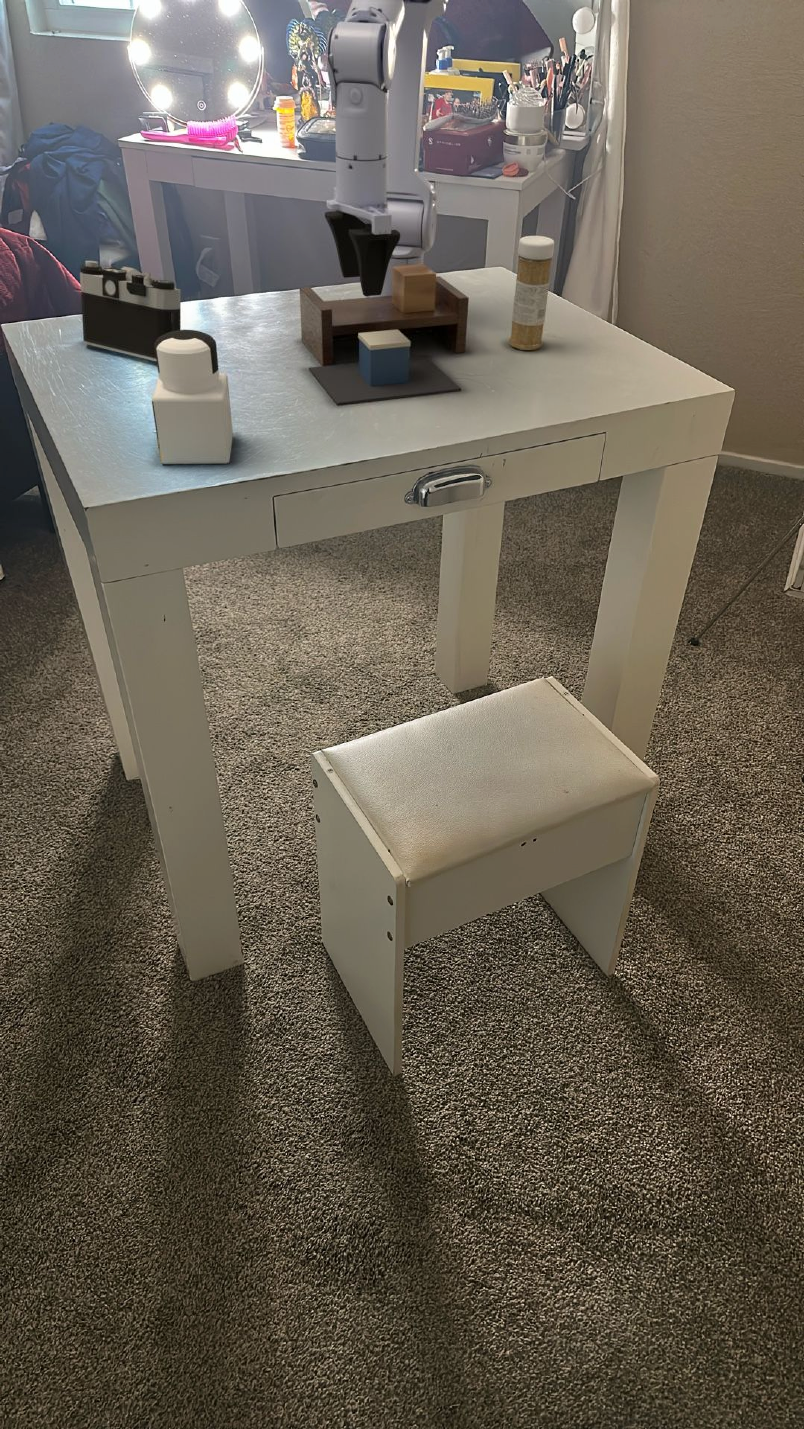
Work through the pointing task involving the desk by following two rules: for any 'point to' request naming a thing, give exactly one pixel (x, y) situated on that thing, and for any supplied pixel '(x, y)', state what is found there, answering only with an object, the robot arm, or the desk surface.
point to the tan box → (413, 288)
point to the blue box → (384, 357)
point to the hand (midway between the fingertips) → (361, 285)
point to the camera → (127, 309)
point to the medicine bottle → (191, 400)
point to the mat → (354, 389)
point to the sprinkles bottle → (531, 291)
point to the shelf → (380, 319)
